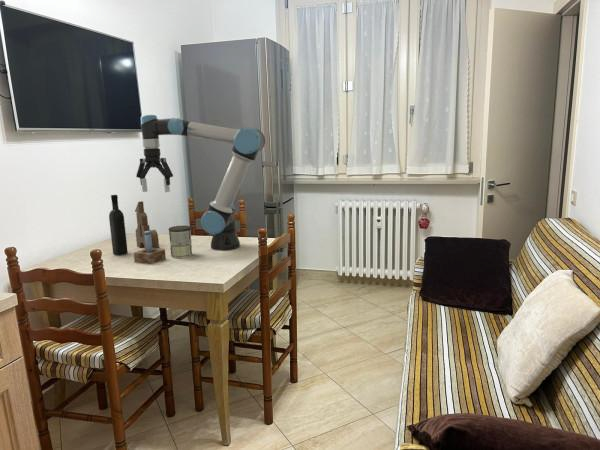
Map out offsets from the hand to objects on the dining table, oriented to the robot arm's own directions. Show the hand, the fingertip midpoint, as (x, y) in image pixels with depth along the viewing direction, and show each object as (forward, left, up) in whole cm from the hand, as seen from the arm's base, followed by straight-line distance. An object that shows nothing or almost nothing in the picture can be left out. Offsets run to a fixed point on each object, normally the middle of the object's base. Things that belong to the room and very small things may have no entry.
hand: (156, 191), depth 212 cm
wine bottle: (+20, +8, -31) cm, 38 cm away
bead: (-4, +13, -31) cm, 34 cm away
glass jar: (-13, +1, -31) cm, 34 cm away
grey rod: (-4, +13, -31) cm, 34 cm away
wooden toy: (+17, -8, -31) cm, 37 cm away
